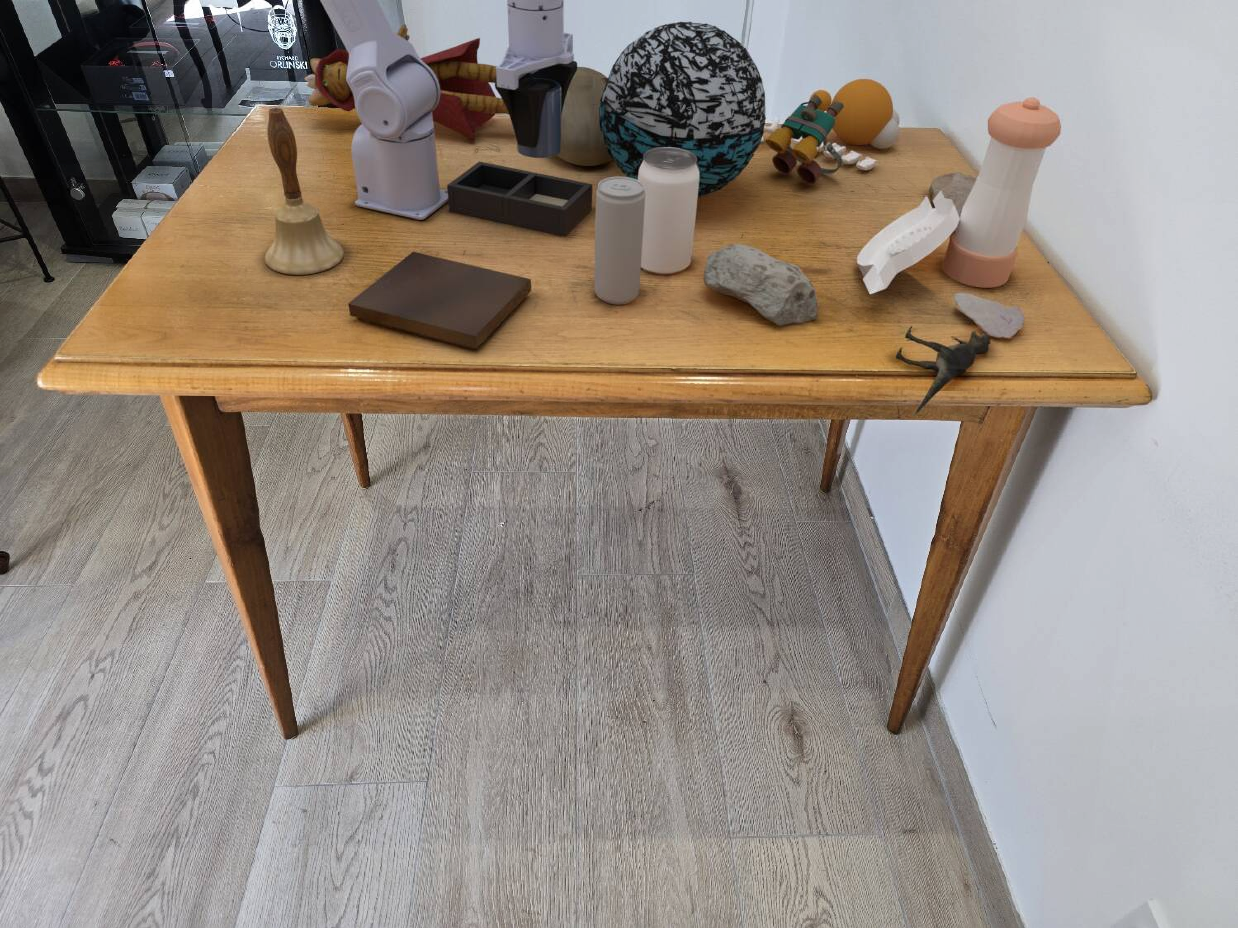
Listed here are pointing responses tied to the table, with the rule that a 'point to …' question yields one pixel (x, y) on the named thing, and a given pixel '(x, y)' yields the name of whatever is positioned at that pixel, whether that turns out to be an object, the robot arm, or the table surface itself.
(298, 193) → the hand bell
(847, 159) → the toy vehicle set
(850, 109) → the toy
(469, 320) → the shelf
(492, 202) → the rack
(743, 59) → the decorative sphere
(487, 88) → the figurine
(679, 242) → the can
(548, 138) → the tumbler
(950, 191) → the stone
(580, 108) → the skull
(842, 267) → the table surface
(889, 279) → the two-handled dish
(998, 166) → the pepper shaker
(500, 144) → the table surface
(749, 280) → the decorative stone
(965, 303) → the stone
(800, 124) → the binoculars
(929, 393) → the dinosaur
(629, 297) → the beverage can
